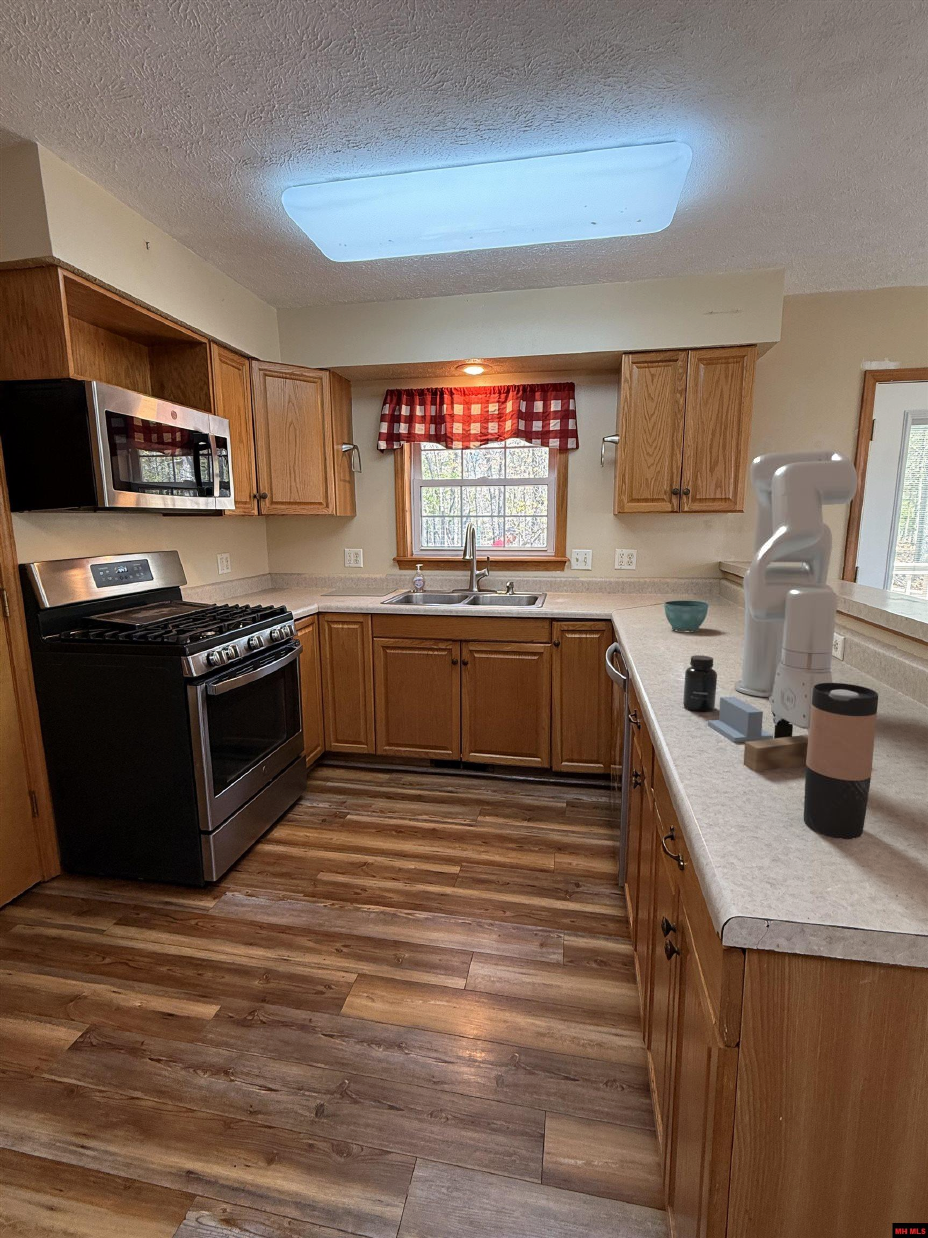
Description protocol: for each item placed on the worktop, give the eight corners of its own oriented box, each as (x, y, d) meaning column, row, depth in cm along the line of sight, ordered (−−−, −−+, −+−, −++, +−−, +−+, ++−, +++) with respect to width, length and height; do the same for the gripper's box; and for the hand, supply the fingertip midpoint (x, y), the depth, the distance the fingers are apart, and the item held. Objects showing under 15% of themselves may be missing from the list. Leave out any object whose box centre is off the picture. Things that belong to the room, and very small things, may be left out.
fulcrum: (743, 723, 123) (744, 695, 122) (772, 740, 114) (774, 711, 113) (707, 725, 123) (709, 697, 122) (734, 742, 113) (736, 713, 112)
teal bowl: (663, 633, 220) (664, 605, 218) (662, 626, 235) (663, 599, 234) (709, 635, 216) (710, 606, 214) (705, 627, 231) (706, 600, 229)
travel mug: (840, 811, 86) (852, 681, 82) (878, 839, 78) (894, 697, 75) (790, 813, 86) (800, 683, 82) (823, 841, 78) (836, 699, 75)
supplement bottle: (695, 714, 130) (698, 662, 128) (677, 705, 136) (679, 655, 134) (721, 710, 131) (724, 659, 129) (702, 702, 138) (704, 653, 136)
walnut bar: (837, 754, 107) (839, 730, 106) (851, 760, 104) (853, 736, 104) (743, 766, 103) (744, 742, 102) (755, 773, 100) (756, 748, 99)
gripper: (755, 649, 109) (749, 738, 112) (822, 673, 92) (813, 777, 94) (792, 647, 109) (785, 735, 112) (865, 670, 92) (855, 773, 95)
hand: (798, 754), depth 103 cm, fingers open, 8 cm apart
